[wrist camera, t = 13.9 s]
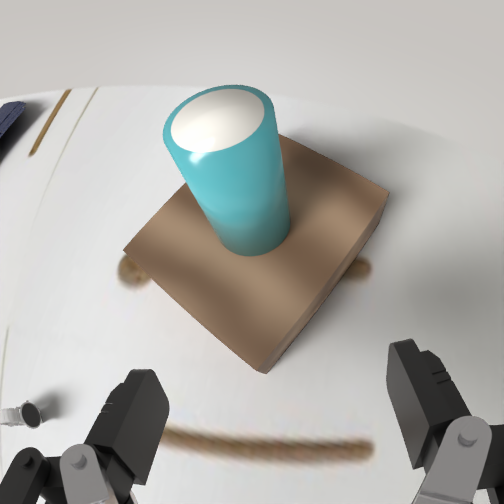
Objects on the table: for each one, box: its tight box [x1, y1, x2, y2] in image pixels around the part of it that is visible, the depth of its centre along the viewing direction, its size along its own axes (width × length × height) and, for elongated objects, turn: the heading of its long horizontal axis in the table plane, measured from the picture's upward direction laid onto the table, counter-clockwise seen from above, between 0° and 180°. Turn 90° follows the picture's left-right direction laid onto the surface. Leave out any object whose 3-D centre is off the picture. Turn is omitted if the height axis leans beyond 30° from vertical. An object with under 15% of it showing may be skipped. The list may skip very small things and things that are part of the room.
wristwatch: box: [0, 401, 42, 429], centre depth 22 cm, size 3×5×5 cm, turn 110°
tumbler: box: [163, 85, 291, 256], centre depth 19 cm, size 6×6×10 cm
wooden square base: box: [123, 134, 389, 374], centre depth 25 cm, size 16×14×5 cm
